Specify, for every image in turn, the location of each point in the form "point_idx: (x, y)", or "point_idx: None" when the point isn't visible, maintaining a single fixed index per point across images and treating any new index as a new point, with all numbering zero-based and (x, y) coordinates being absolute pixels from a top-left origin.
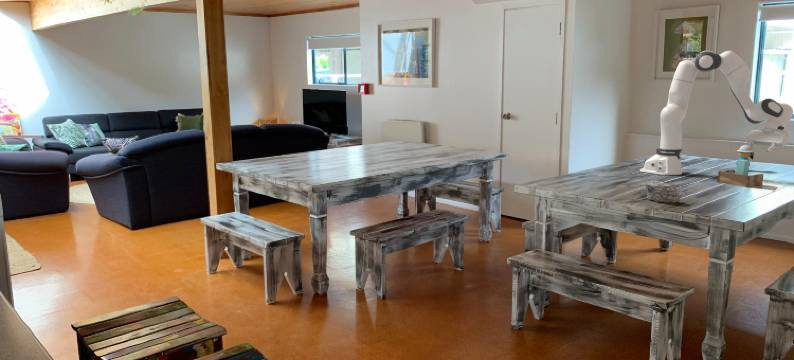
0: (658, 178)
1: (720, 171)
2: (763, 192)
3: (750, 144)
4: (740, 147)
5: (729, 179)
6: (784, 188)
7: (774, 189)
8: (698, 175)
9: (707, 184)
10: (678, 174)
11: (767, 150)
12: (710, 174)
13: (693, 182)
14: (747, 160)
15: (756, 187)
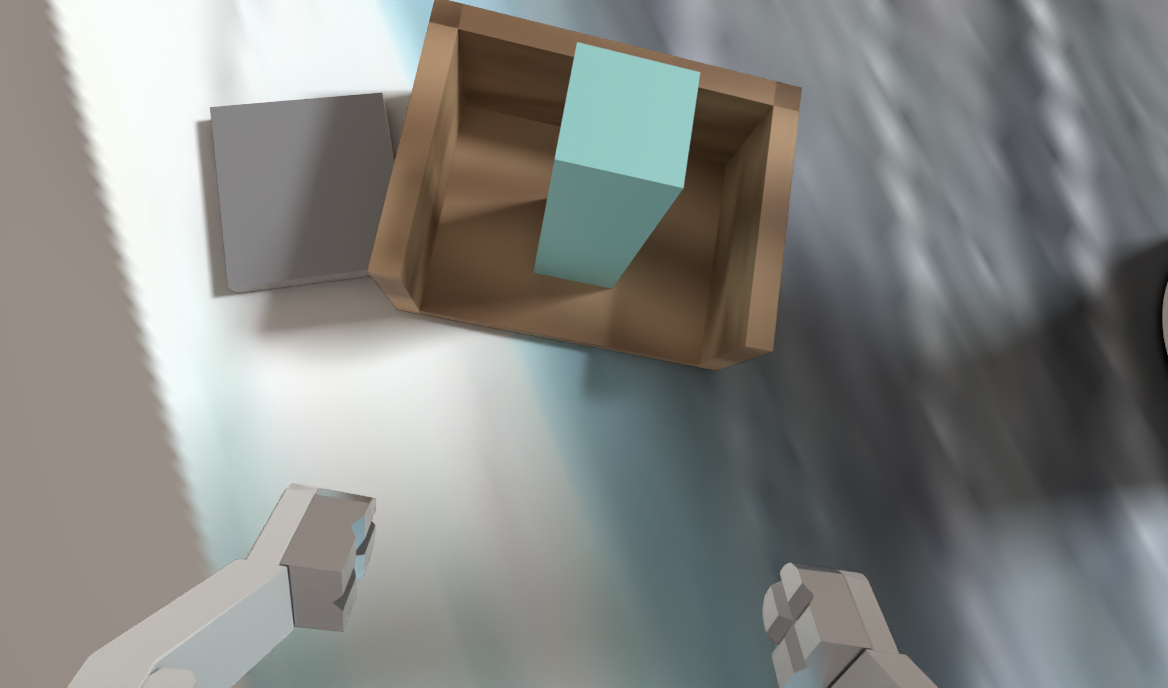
0: (1132, 35)
1: (781, 87)
2: (282, 28)
3: (910, 686)
4: None
5: None
6: (193, 389)
7: (213, 137)
8: (1063, 445)
9: (771, 55)
10: (1164, 309)
11: (333, 494)
12: (1040, 609)
13: (886, 62)
14: (582, 149)
15: (379, 110)
